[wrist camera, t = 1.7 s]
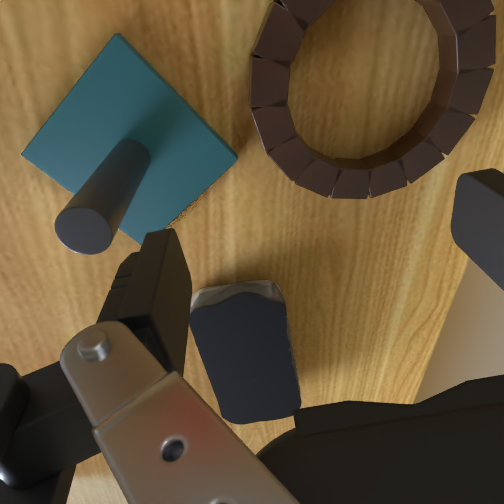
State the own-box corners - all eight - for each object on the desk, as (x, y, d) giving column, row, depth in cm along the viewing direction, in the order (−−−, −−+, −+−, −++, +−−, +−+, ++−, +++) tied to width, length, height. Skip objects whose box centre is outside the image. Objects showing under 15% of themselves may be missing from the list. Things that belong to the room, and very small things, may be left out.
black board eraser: (298, 385, 40) (305, 416, 37) (222, 398, 40) (223, 430, 37) (279, 264, 31) (285, 292, 28) (181, 282, 31) (177, 311, 28)
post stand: (119, 32, 21) (40, 45, 12) (238, 154, 26) (246, 233, 16) (27, 149, 25) (-91, 231, 15) (146, 240, 29) (110, 346, 20)
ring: (402, -143, 18) (422, -160, 16) (508, 88, 24) (532, 94, 23) (201, 75, 23) (199, 81, 21) (334, 221, 29) (341, 235, 27)
